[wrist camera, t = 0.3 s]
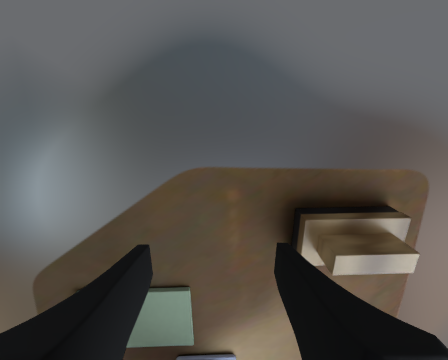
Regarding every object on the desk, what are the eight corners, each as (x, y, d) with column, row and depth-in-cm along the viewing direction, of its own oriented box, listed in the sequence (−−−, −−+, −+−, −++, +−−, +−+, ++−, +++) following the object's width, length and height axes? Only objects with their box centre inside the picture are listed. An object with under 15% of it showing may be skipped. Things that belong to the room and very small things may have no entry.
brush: (389, 205, 22) (444, 236, 17) (378, 247, 24) (425, 287, 19) (295, 207, 22) (320, 239, 17) (290, 249, 24) (312, 290, 18)
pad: (193, 340, 28) (193, 345, 27) (93, 344, 28) (90, 349, 27) (189, 286, 25) (189, 290, 25) (77, 290, 25) (74, 294, 24)
